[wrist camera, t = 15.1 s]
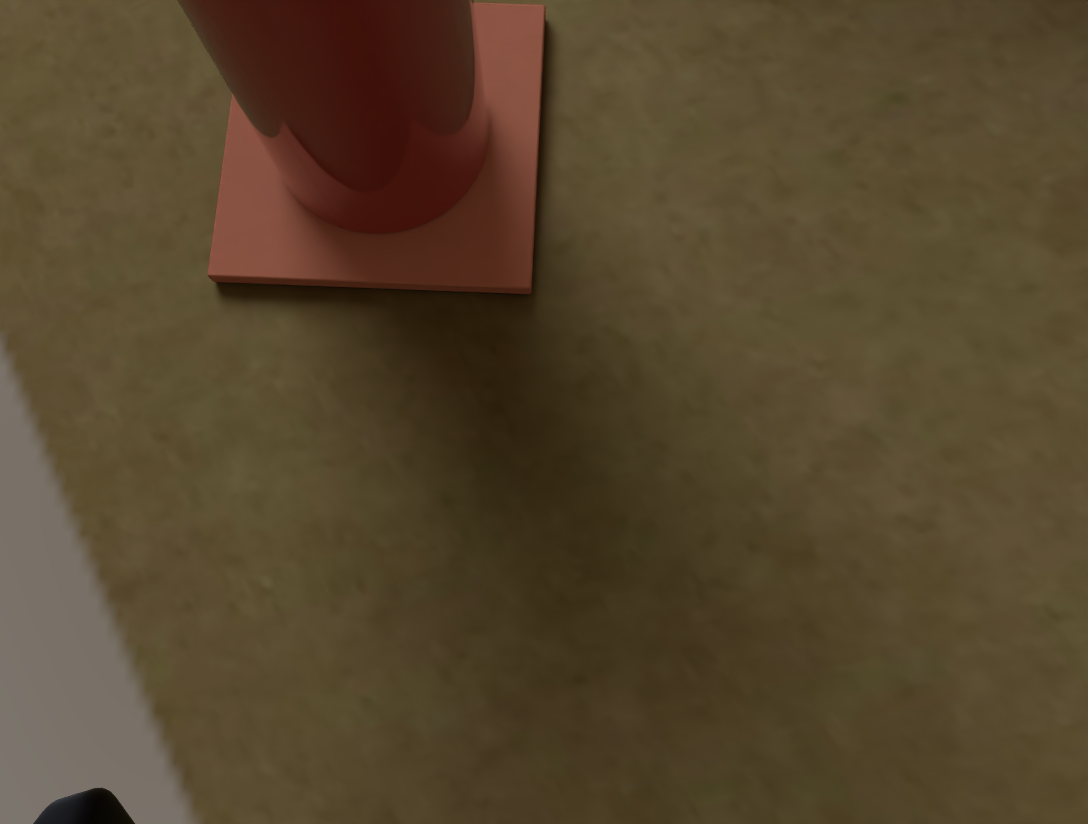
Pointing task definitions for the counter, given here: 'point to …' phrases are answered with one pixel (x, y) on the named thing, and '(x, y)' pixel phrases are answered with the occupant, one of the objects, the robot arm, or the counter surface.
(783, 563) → the counter surface
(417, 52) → the red cylinder
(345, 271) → the terracotta pad
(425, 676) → the counter surface
